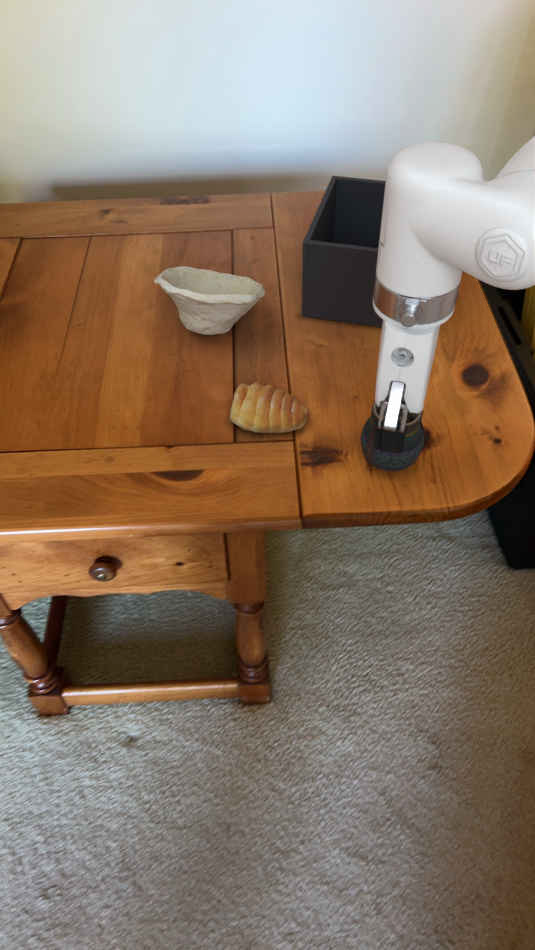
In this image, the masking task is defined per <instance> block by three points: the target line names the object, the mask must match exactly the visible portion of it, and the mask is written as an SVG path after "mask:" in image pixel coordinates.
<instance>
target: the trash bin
mask: <svg viewBox="0 0 535 950" xmlns="http://www.w3.org/2000/svg"><path fill="white" fill-rule="evenodd" d="M385 183H386V180H382V179H381V180H380V179H372V178H371V179H370V178H360V177H352V176H351V177H350V176H340V175H331V178H330V180H329V182H328V185H327V187H326V189H325V191H324V193H323V195H322V198H321V200H320V203H319V205H318V207H317V210H316V211H315V214H314V216H313V218H312V220H311V223H310V225H309V226H308V227H309V228H308V230H307V232H306V233H305V235H304V239H303V241H302V264H301V265H302V267H301V269H302V271H301V275H302V276H301V278H302V279H301V280H302V281H301V285H302V286H301V316H302V317H306V318H313V319H319V320H326V321H333V322H341V323H346V324H347V323H348V324H354V325H361V326H368V327H373V328H381V329H382V324H383V319H382V318H380V317H379V316H378V314H377V313H376V312H375V310H374V307H373V294H374V285H375V276H376V267H377V257H378V248H379V239H380V230H381V220H382V211H383V202H384V193H385Z"/></svg>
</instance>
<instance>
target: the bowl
mask: <svg viewBox="0 0 535 950" xmlns="http://www.w3.org/2000/svg"><path fill="white" fill-rule="evenodd" d="M153 283H154V284H156V285H158V286H159V287H160V288H161V289H162V291H163V292H164V293H165V294H166V295H168V296H169V297H170V298H171V299H172V301H173V303H174V304H175V306H176V308H177V311H178V318H179V319H180V321H181V323H182V325H183V326H184V327H185V329H186V330H188V331H190V332H193V333H196V334H200V335H204V336H213V335H223V334H226V333H227V332H229V331H230V330H231V329H232V328H233V326H234V325H235V323H237V322H238V321H239V320H240V319H241V318H242V317H243V316H245V315H246V314H247V313H248V312H249V311H250V310H251V309H252V308H253V307H254V306H255V305H256V304H257V303H258V302H259V300H260V299H261V298H262V297H264V296H265V295H266V291H265V289H264V287H263V284H261V283H259V282H257V281H255V280H254V279H252V278H251V277H248V276H243V275H242V276H241V275H236V274H231V273H224V272H218V271H214V270H211V269H203V268H202V269H201V268H196V267H191V266H185V265H182V266H181V265H180V266H175V267H168V268H166V269H164V270H163V271H162V272H161V273H160V274H158V275H157V277H155V278H154V279H153Z"/></svg>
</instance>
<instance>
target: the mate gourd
mask: <svg viewBox="0 0 535 950" xmlns="http://www.w3.org/2000/svg"><path fill="white" fill-rule="evenodd" d="M389 396H390V394H388V396H387V398H389ZM402 401H405V400H404V397H402ZM380 410H381V405H380V407H378V406H377V404H376V403H375V400H373V402H372V404H371V410H370V411H371V412H370V417H369V418H368V419H367V420H366V421H365V423H364V425H363V427H362V430H361V434H360V445H361V449H362V453H363V455H364V458H365V460H366V462H367V463H369V465H371V467H372V468H374V469H377V470H381V471H384V472H391V473H395V472H400V471H404V470H406V469H408V468H409V467H411V466H413V465H414V463H416V461H417V459H418V458H419V456H420V455H421V453H422V451H423V448H424V444H425V437H426V434H425V433H426V432H425V428H424V425H423V422H422V421H423V415H424V409H423V410H422V411H421V412H420V413H418V414H416V413H410V412H409V410H408V413H407V418H406V424H405V425H407V432H406V437H405V442H404V447H403V452H402V453H401V454H397V453H392V452H386V451H381V450H376V449H374V448H373V444H374V437H375V430H376V423H377V420H378V421H379V416H380ZM386 411H387V408H386ZM402 412H403V410H400V411H399V416H398V420H400V423H401V417H402ZM385 416H386V413H385Z"/></svg>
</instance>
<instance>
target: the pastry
mask: <svg viewBox="0 0 535 950" xmlns="http://www.w3.org/2000/svg"><path fill="white" fill-rule="evenodd" d="M308 413H309V408H308V406H307V405H306V404H305V402H304V401H302V400H300V399H299V398H297V396H296V395H295V394H290V393H288V392H287V391H286V390H285V389H282V388H281V389H279V388H277V387H276V386H273V385H272V384H267V385H264V384H263V383H261V382H259V381H256V382H253V383H252V384H251V385H249V384H245V383H240V384H239V385H238V386H237V388H236V390H235V391H234V395H233V400H232V403H231V407H230V413H229V420H230V422H231V423H233V424H234V425H236V426H238V427H239V428H240V429H242V430H244V431H251V432H253V433H261V434H263V433H266V434H267V433H268V434H273V433H277V434H278V433H283V434H284V433H289V432H290V433H291V432H293V431H296V430H300V429H302V428H303V427H304V426H305V424H306V422H307V418H308Z"/></svg>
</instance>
